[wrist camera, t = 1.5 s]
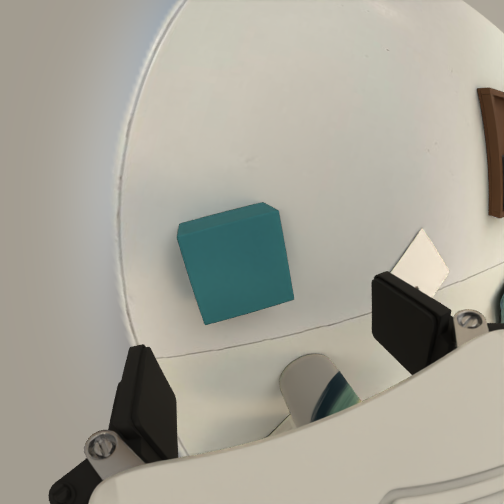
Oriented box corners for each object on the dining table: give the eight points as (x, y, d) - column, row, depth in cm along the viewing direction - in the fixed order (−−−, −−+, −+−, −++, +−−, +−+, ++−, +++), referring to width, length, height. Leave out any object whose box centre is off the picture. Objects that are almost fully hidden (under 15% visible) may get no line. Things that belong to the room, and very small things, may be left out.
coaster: (449, 271, 26) (454, 273, 25) (408, 329, 27) (412, 332, 26) (422, 227, 23) (427, 229, 23) (372, 295, 24) (377, 298, 23)
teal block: (178, 223, 19) (176, 236, 16) (263, 201, 20) (279, 210, 16) (201, 300, 21) (204, 325, 18) (278, 278, 22) (294, 299, 18)
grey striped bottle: (337, 378, 27) (439, 527, 8) (287, 403, 26) (367, 568, 8) (326, 342, 25) (457, 517, 6) (269, 369, 24) (363, 572, 6)
